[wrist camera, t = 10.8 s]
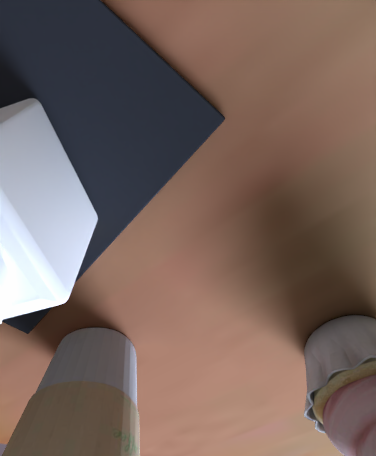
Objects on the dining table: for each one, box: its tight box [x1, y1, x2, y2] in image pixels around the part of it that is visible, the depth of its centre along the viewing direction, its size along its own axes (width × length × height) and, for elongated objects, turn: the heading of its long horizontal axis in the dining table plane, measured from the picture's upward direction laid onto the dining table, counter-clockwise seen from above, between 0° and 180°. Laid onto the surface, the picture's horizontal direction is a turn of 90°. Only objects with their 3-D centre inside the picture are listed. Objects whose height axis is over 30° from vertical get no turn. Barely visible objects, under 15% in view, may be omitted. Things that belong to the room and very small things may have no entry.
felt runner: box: [0, 0, 225, 334], centre depth 20 cm, size 11×20×1 cm, turn 139°
